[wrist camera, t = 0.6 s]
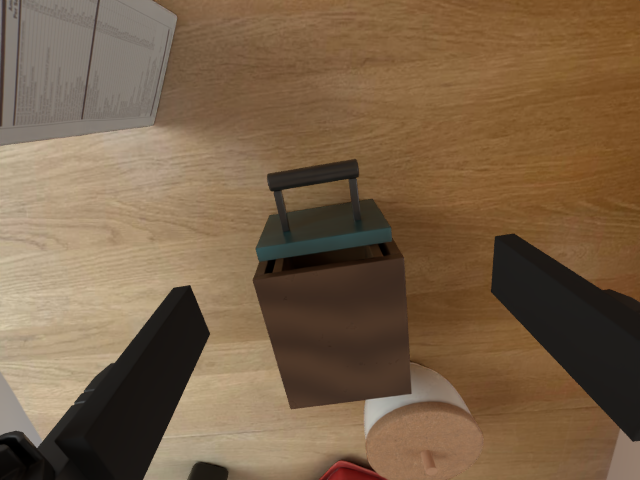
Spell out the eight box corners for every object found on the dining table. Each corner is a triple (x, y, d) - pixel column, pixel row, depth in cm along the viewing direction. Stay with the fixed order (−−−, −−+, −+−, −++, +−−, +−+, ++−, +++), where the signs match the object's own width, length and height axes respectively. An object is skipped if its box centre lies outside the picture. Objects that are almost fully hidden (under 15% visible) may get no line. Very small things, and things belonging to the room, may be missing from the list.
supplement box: (58, -49, 22) (-503, -390, 7) (181, 14, 24) (-56, -150, 9) (46, 82, 26) (-347, 45, 11) (154, 129, 28) (-49, 158, 12)
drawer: (257, 165, 28) (237, 185, 21) (368, 147, 28) (386, 160, 20) (295, 322, 36) (290, 376, 28) (383, 309, 35) (401, 361, 28)
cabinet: (269, 232, 32) (252, 280, 23) (379, 215, 31) (404, 257, 22) (296, 339, 38) (290, 409, 29) (389, 326, 37) (411, 394, 28)
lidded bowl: (352, 351, 39) (364, 438, 29) (451, 340, 38) (500, 423, 28) (360, 417, 44) (374, 511, 34) (448, 408, 43) (489, 500, 33)
